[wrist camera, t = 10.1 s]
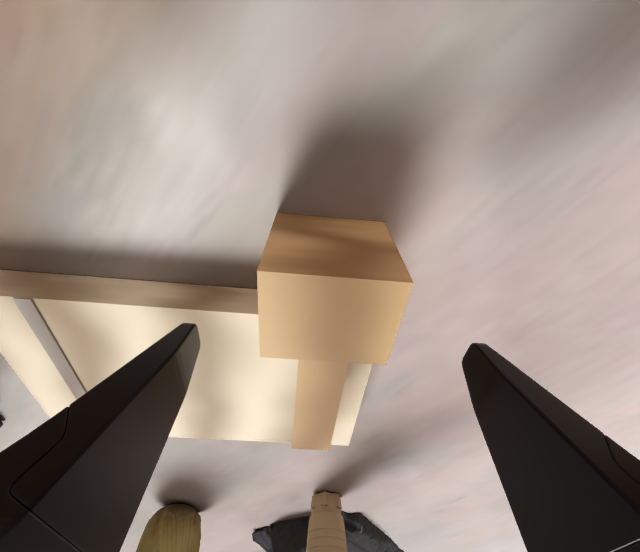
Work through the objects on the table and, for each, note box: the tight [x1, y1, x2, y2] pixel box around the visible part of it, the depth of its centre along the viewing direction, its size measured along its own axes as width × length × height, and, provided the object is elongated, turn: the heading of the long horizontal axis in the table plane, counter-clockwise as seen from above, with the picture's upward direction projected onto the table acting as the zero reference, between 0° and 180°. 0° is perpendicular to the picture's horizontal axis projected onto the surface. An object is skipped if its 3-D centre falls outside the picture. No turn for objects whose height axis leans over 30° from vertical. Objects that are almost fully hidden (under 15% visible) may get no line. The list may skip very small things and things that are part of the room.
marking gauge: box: [257, 213, 413, 450], centre depth 14 cm, size 5×11×5 cm, turn 175°
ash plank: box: [0, 270, 373, 446], centre depth 18 cm, size 20×12×2 cm, turn 85°
